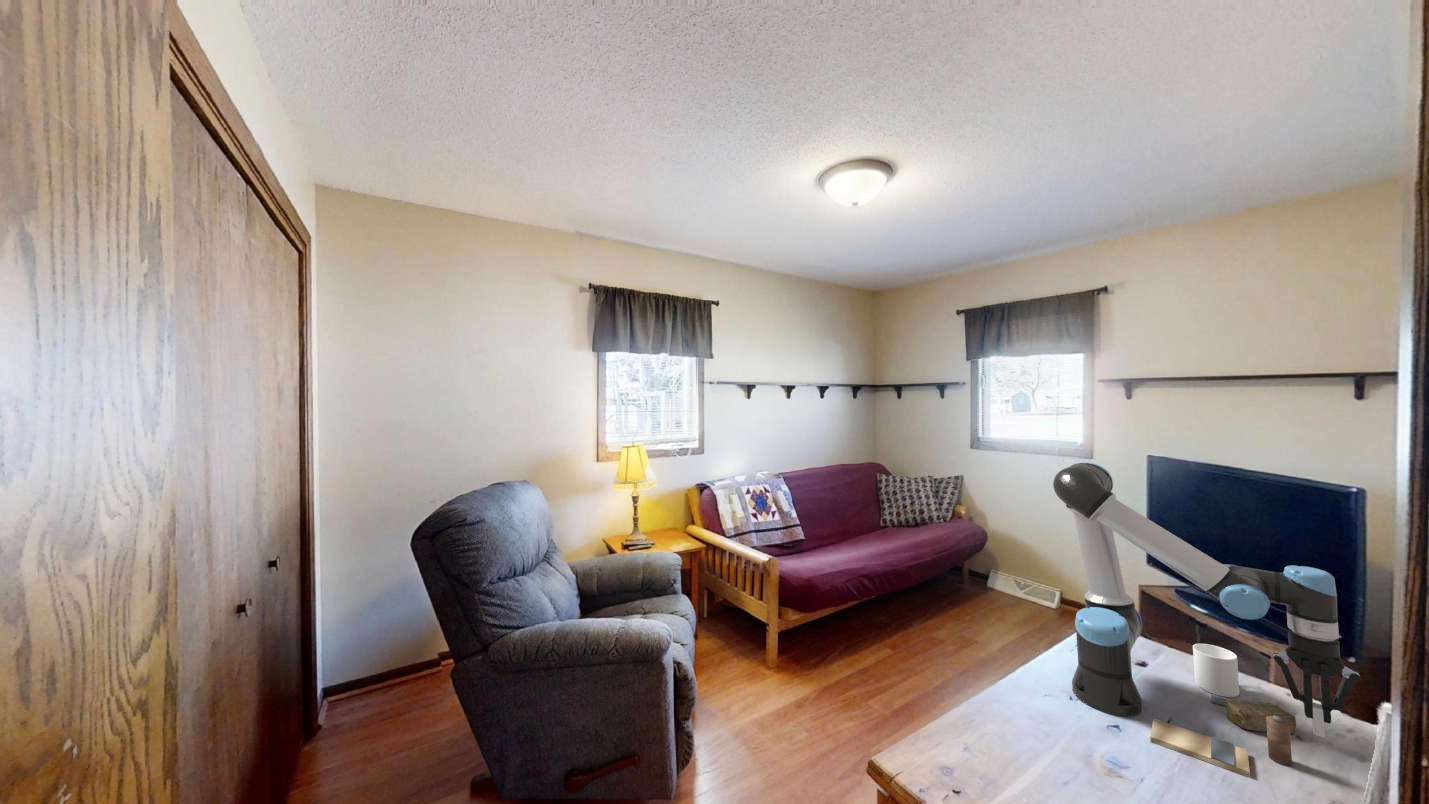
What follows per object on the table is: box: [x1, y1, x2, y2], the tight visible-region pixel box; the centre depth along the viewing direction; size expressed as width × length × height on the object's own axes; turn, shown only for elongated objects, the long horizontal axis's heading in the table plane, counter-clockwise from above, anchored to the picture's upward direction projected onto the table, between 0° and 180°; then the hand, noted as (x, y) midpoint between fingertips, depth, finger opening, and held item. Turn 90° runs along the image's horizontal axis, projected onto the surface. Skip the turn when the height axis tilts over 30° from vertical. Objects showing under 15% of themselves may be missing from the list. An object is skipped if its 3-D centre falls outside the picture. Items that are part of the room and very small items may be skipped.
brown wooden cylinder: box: [1266, 715, 1293, 767], centre depth 106 cm, size 3×3×10 cm
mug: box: [1192, 643, 1240, 698], centre depth 132 cm, size 9×12×11 cm
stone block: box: [1225, 699, 1297, 735], centre depth 117 cm, size 6×12×5 cm, turn 78°
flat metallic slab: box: [1150, 694, 1251, 778], centre depth 119 cm, size 16×34×2 cm, turn 133°
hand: (1318, 733), depth 110 cm, fingers closed
